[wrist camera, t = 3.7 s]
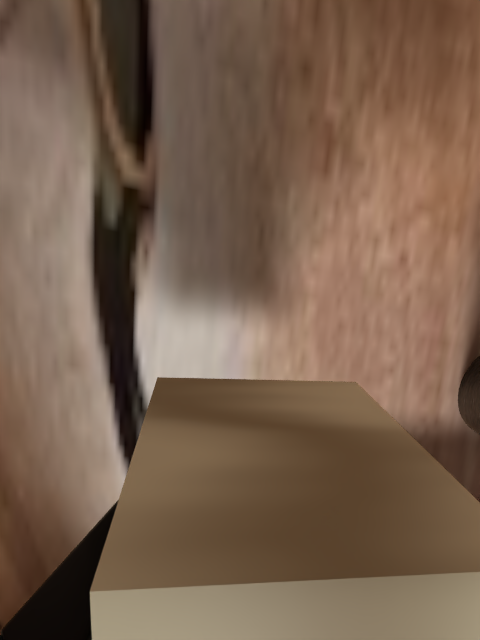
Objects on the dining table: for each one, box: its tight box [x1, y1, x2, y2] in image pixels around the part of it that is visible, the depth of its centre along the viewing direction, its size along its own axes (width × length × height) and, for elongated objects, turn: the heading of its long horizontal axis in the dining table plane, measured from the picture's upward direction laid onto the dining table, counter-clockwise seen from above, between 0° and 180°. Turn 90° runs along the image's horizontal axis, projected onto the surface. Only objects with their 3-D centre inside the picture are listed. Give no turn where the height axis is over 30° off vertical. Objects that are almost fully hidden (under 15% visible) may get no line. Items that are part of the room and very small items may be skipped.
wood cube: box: [90, 378, 480, 640], centre depth 7 cm, size 5×5×5 cm
